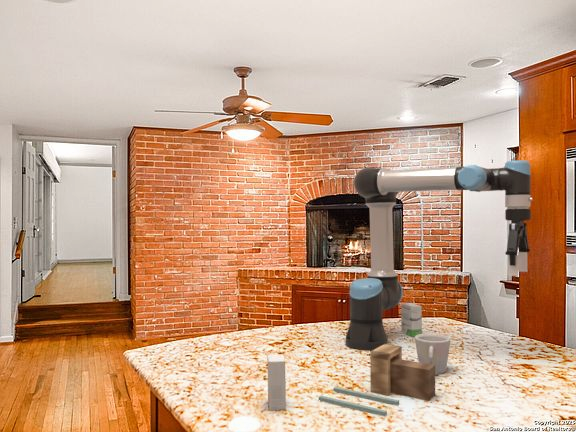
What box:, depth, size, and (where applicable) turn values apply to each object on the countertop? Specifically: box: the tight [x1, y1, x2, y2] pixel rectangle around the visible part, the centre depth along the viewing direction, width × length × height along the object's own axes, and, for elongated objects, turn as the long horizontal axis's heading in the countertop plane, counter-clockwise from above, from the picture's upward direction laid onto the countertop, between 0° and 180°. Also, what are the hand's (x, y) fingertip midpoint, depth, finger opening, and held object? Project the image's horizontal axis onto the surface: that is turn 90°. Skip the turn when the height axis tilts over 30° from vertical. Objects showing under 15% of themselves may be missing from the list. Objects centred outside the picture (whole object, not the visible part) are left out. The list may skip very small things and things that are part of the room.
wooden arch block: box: [369, 343, 403, 396], centre depth 133 cm, size 5×10×11 cm, turn 146°
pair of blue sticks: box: [318, 386, 400, 417], centre depth 124 cm, size 18×9×1 cm, turn 56°
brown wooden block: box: [390, 358, 436, 402], centre depth 131 cm, size 16×5×8 cm, turn 56°
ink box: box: [400, 302, 423, 338], centre depth 194 cm, size 9×5×12 cm, turn 14°
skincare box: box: [266, 353, 287, 411], centre depth 122 cm, size 6×4×12 cm
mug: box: [414, 332, 451, 375], centre depth 147 cm, size 10×15×10 cm
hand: (518, 273), depth 160 cm, fingers open, 13 cm apart
